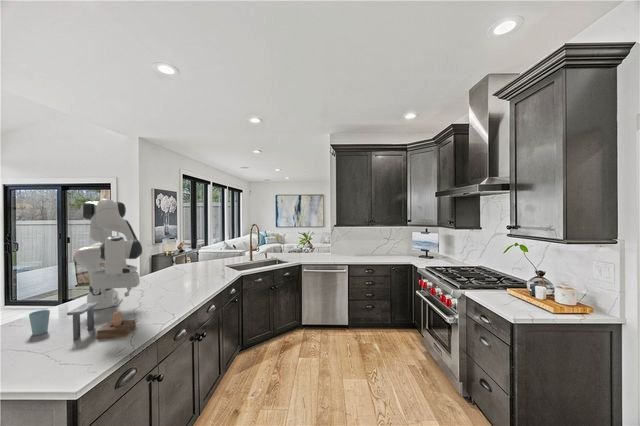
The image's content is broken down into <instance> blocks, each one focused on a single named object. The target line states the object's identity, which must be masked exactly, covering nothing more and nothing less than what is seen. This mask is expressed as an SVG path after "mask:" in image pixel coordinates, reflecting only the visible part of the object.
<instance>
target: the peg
mask: <svg viewBox="0 0 640 426" xmlns="http://www.w3.org/2000/svg"><path fill="white" fill-rule="evenodd" d="M112 321H113V327H118V326H121V321H122V311H115V312H112Z"/></svg>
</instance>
